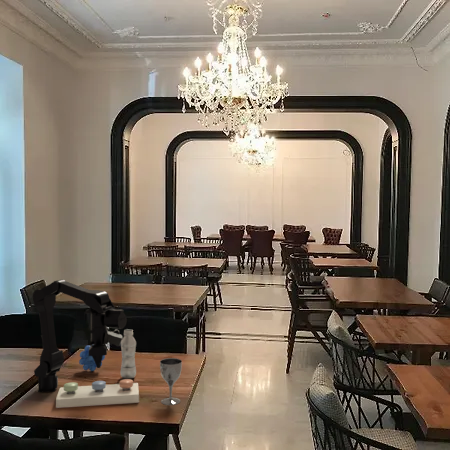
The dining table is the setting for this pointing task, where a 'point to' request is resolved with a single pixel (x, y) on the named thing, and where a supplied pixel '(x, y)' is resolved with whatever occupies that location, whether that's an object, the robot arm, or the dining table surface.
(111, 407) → the dining table surface
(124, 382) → the button terracotta
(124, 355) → the plastic bottle
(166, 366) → the wine glass
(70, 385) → the button sage
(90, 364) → the grapes
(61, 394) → the console
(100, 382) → the button blue
